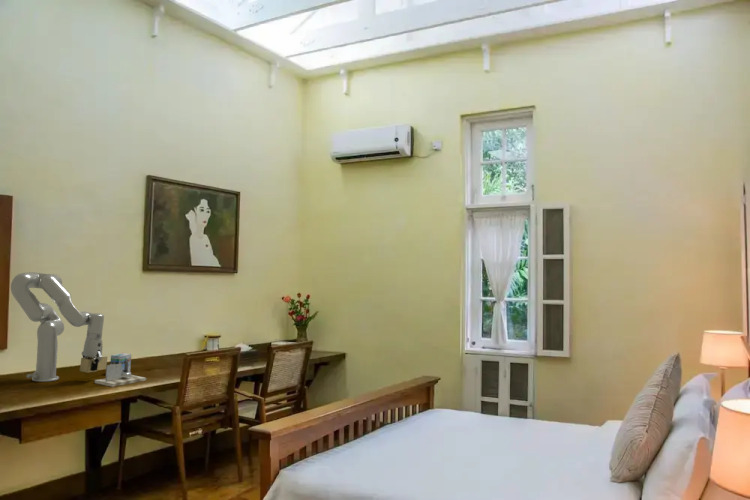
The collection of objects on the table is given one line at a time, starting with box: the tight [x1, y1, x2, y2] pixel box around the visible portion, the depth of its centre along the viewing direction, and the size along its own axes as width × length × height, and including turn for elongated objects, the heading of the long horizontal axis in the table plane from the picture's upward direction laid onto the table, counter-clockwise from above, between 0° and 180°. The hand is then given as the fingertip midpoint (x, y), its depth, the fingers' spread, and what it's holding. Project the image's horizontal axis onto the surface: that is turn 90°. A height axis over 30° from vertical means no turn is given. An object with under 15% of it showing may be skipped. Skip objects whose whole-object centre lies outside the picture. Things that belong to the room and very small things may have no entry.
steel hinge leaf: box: [104, 359, 132, 382], centre depth 323 cm, size 15×6×10 cm, turn 153°
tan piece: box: [79, 356, 108, 374], centre depth 326 cm, size 14×6×7 cm, turn 153°
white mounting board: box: [94, 374, 147, 388], centre depth 324 cm, size 22×14×2 cm, turn 153°
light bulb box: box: [109, 352, 132, 372], centre depth 348 cm, size 11×7×11 cm, turn 168°
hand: (90, 368), depth 323 cm, fingers closed on tan piece, 6 cm apart
